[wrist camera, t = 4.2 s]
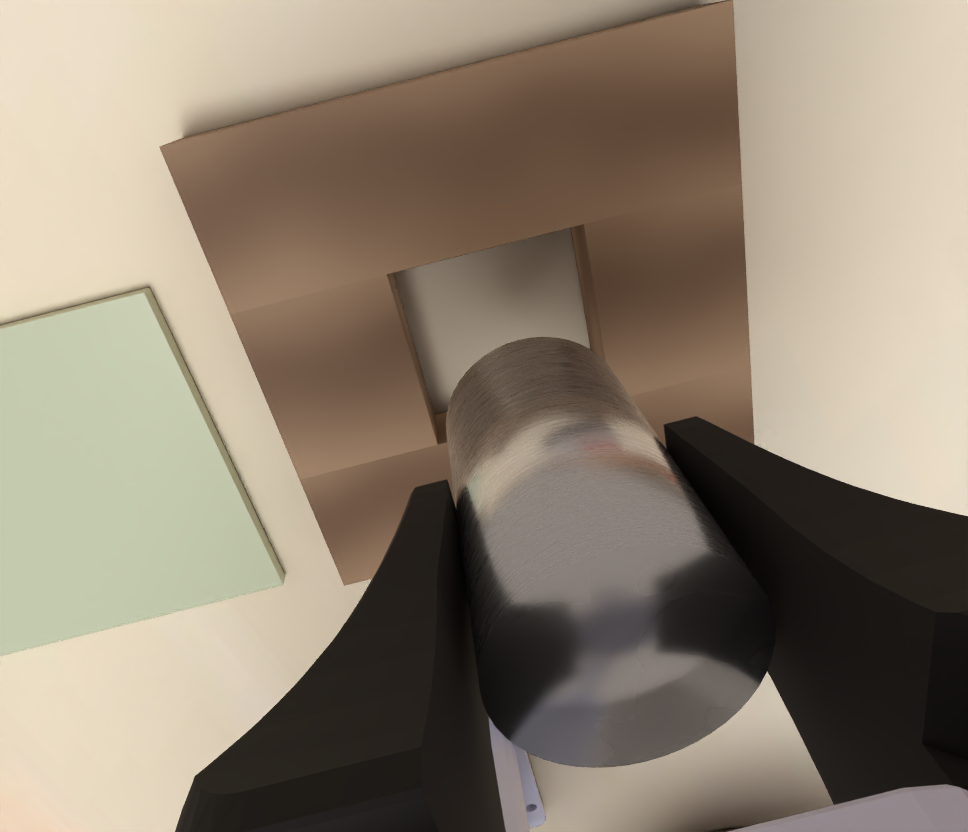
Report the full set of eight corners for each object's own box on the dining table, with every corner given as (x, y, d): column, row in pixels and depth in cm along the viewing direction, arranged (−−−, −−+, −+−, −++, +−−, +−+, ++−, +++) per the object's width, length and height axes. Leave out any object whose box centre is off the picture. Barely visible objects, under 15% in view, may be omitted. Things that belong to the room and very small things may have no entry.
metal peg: (635, 474, 16) (779, 727, 10) (469, 516, 16) (512, 794, 10) (612, 316, 15) (771, 510, 8) (425, 363, 15) (445, 592, 8)
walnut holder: (730, 451, 25) (755, 481, 23) (348, 548, 25) (344, 585, 23) (700, 4, 18) (732, -1, 17) (182, 138, 18) (159, 147, 17)
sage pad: (284, 575, 25) (283, 584, 25) (-11, 650, 25) (-18, 660, 25) (149, 287, 20) (144, 292, 20) (-221, 381, 20) (-235, 389, 20)
